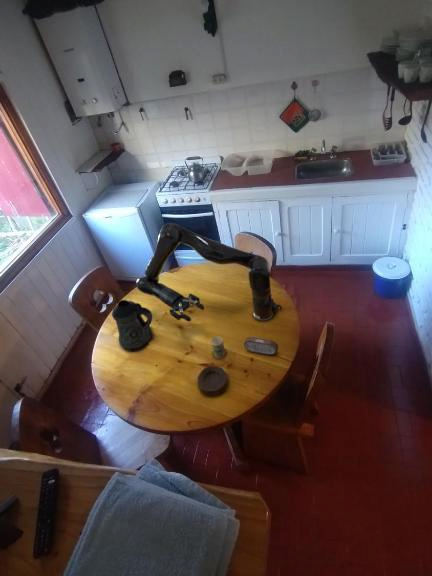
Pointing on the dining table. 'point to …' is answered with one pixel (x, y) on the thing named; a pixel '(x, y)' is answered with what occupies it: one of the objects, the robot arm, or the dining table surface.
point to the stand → (212, 381)
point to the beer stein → (132, 325)
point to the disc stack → (218, 347)
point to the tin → (261, 345)
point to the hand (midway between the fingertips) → (197, 314)
